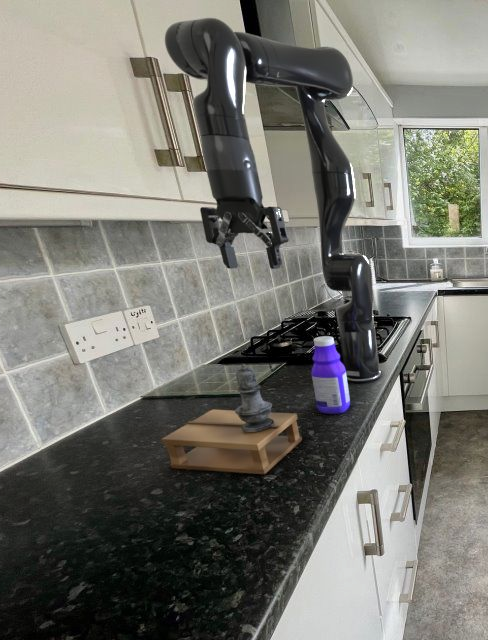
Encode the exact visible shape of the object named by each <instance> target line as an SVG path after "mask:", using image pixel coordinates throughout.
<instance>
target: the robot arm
mask: <svg viewBox="0 0 488 640" xmlns="http://www.w3.org/2000/svg"><path fill="white" fill-rule="evenodd" d="M164 45H165V49H166V52H167V54H168V56H169V58H170V59H171V61H172V62H173V63H174V64H175V66H176V67H177V68H178V69H179V70H180V71H182V72H183V73H184V74H186V75H187V76H188V77H191V78H193V79H196V80H198V81H206V88H205V89H204V90H203V91H201V92H200V93H198V94H196V95H195V96H194V98H192V99H193V100H192V107H193V113H194V117H195V121H196V126H197V128H198V133H199V138H200V144H201V154H202V158H203V162H204V167H205V171H206V174H207V179H208V183H209V187H210V191H211V196H212V198H213V199H214V200H215V201H216V207H213V206H201V207H200V208H199V212H200V216H201V221H202V226H203V230H204V236H205V240H206V243H208V244H214V245H216V246H218V248H219V251H220V254H221V255H220V256H221V259H222V264H223V265H224V266H225V267H226V269H231V270H232V269H238V267H239V263H238V259H237V255H236V251H235V250H236V249H235V247H234V246H232V245H233V243H234V241H235V238H236V237H238V235H239V234H254V235H255V236H256V237H257V238H259V239H260V240H261V241H262V243H264V245H265V246H266V247H265V249H266V251H265V252H266V255H267V260H268V265H269V268H270V269H271V270H276V269H280V268H281V266H282V265H283V260H282V254H281V248H280V247H281V245H283V244H285V243H288V242H289V241H290V240H289V236H288V231H287V227H286V222H285V217H284V214H283V213H284V212H283V209H282V208H281V207H280V206H267V207H265V206H264V204H263V197H264V196H263V191H262V188H261V181H260V177H259V171H258V167H257V162H256V157H255V154H254V153H255V152H254V150H253V147H252V144H251V141H250V140H251V139H250V134H249V130H248V125H247V121H246V116H245V106H246V88H247V87H246V86H247V84H251V85H256V86H257V85H258V86H265V87H279V88H280V87H282V88H284V87H286V88H287V87H295V89H296V94H297V97H298V98H297V99H298V102H299V106H300V110H301V115H302V120H303V124H304V129H305V135H306V140H307V147H308V154H309V161H310V171H311V177H312V178H311V179H312V184H313V192H314V197H315V203H316V209H317V210H316V211H317V218H318V226H319V237H320V238H319V239H320V258H321V259H320V260H321V270H322V276H323V280H324V282H325V285H326V286H327V287H328V288H329V289H330V290H331V291H336V292H351V293H350V295H351V299H350V300H349V301H348V302H347V303H344V304H341V305H339V306H337V307H336V309H335V314H336V320H337V327H338V334H339V340H340V341H339V342H340V347H341V355H342V360H343V365H344V367H345V370H346V376H347V382H349V383H354V384H363V383H369V382H370V383H371V382H374V381H376V380H378V379H379V378H380V377H381V369H380V361H379V352H378V344H377V335H376V327H375V318H374V288H373V275H372V267H371V265H370V262H369V260H368V258H367V257H366V256H365V255H364V254H363V255H362V254H358V253H357V254H356V253H344V252H343V232H344V229H345V226H346V224H347V221H348V219H349V217H350V215H351V213H352V211H353V207H354V204H355V200H356V187H355V186H356V185H355V178H354V171H353V166H352V163H351V161H350V160H349V157H348V156H347V155H346V153H345V151H344V149H343V148H342V147H341V145H340V144H339V143H340V142H338V141H337V139H336V137H335V135H334V134H333V132H332V130H331V128H330V125H329V121H328V118H327V113H326V106H325V102H327V101H338V100H343V99H345V98H348V96H350V94H351V93H352V91H353V88H354V77H353V72H352V68H351V65H350V62H349V61H348V59H347V57H346V56H345V55H344V54H343V53H342V51H340V50H339V49H337V48H335V47H331V46H319V47H311V48H310V47H304V46H297V45H293V44H290V43H289V44H288V43H284V42H280V41H277V40H272V39H269V38H266V37H262V36H259V35H255V34H251V33H248V32H242V31H233V29H232V28H231V27H230V26H229V25H228V24H227V23H226V22H225V21H222V20H221V19H218V18H215V17H203V18H198V19H191V20H190V19H189V20H182V21H177V22H174V23H172V24H171V25H169V27H168V28H167V29H166V31H165V34H164ZM265 219H267V220H268V221H269V224H270V226H269V225H268V224H267V223H266V221H265ZM219 220H221V224H220V221H219Z"/></svg>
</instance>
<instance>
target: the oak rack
mask: <svg viewBox="0 0 488 640" xmlns="http://www.w3.org/2000/svg"><path fill="white" fill-rule="evenodd" d="M268 418H271V419H273V420H274V424H273V425H272V426H271V427H269V428H267V429H264V430H261V431H256V432H245V431H243V430H242V426H243V425H244V424H245V423H246V422H244V421H242V420H241V419H240V418H239V416H238V414H236V413H235V410H234V409H233V410H229V409H211V410H209V411H207V412H205V413H204V414H202V415H200V416H198V417H197V418H196V419H194V420H188V421H187V422H186V424H184V425H183V426H181V427H180V428H178V429H176V430H174V431H173V432H171V433H169V434H167V435H166V436H164V437H162V438H161V439H160V440H161V441H162V442H161V443H162V445H163V446H165V448H166V450H167V453H168V456H169V459H170V462H171V463H170V464H169V466H170V468H171V469H181V470H195V471H196V470H197V471H210V472H211V471H213V472H225V473H240V474H241V473H242V474H255V475H266V474H267V473H268V472H270V470H271V469H273V467H275V466H276V465H277V464H278V463H279V462H280V461H281V460H282V459H283V458H284V457H285V456H287V454H289V453H290V452H291V451H292V450H293V449H294V448H296V447H297V446H298V444H299V443H301V442H302V441H303V437H302V436H300V432H299V431H300V430H299V427H298V422H297V420H298V419H299V418H298V414H297V413H294V412H293V413H290V412H289V413H288V412H273V411H271V413H270V415H269V416H268ZM284 430H285V432H286V435H281V433H282V432H284ZM184 447H195V448H193V449H191V450H189V451H187V453H186V452H185V450H184Z"/></svg>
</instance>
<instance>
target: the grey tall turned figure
mask: <svg viewBox="0 0 488 640" xmlns="http://www.w3.org/2000/svg"><path fill="white" fill-rule="evenodd" d="M240 367H241V368H240V369H238V370H237V371H236V373H235V377H236V381H237V385H238V388H237V390H236V391H237V392H238V393H239V394H240V398H241V405H240V406H238V407H237V408H236V409H235V410H234V411H235V413H236V414H238V416H239V418H240V419H241V420H242V421H244V422H246V423H245V424H244V425H243V426H242V430H243V431H245V432H256V431H261V430H264V429H267V428H269V427H271V426H272V425H273V424H274V420H273V419H271V418H268V416H269V415H270V413H271V412H272V407H273V403H271V401H268V400H263V398H262V395H261V392H260V389H261V385H260V384H258V380H257V377H256V372H255V370H254V369H252V368H250V367H247V366H246V364H244V363H241V365H240Z"/></svg>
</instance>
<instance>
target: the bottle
mask: <svg viewBox="0 0 488 640" xmlns="http://www.w3.org/2000/svg"><path fill="white" fill-rule="evenodd" d="M313 345H314V353H313V356H312V361H313V365H312V368H311V372H310V373H311V379H312V385H313V390H314V391H313V392H314V398H315V403H316V408H317V410H318V411H319V412H320V413H322V414H328V415H330V414H331V415H339V414H342V413H345V412H346V411H347V410H348V409H349V408H350V405H351V399H350V398H351V397H350V390H349V384H348V381H347V376H346V370H345V367H344V363H343V362H341V355H340V353H339V352H338V351H337V349H336V344H335V339H334V337H333V336H329V335H324V336H323V335H322V336H318V337H317V336H316V337H315V338H313Z"/></svg>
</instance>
